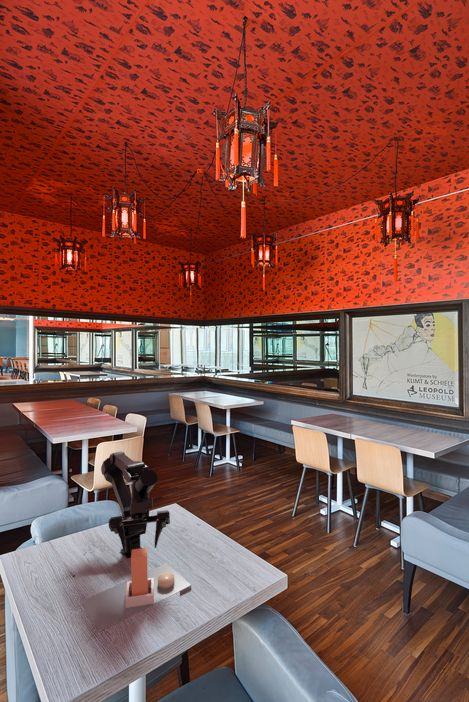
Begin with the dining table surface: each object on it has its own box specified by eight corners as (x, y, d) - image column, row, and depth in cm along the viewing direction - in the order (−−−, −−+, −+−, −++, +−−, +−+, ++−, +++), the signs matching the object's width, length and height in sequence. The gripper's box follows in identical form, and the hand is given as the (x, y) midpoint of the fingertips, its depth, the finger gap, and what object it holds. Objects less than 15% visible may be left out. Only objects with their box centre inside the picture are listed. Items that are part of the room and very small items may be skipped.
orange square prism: (132, 592, 110) (131, 549, 110) (148, 590, 111) (147, 547, 111) (132, 602, 106) (130, 558, 105) (147, 600, 107) (146, 555, 106)
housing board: (80, 604, 107) (80, 592, 107) (166, 565, 125) (166, 555, 125) (99, 636, 95) (98, 622, 95) (191, 588, 113) (190, 577, 113)
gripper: (107, 492, 116) (104, 546, 106) (168, 485, 120) (170, 537, 110) (112, 505, 124) (109, 557, 114) (168, 499, 128) (171, 548, 118)
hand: (140, 549), depth 114 cm, fingers open, 9 cm apart
